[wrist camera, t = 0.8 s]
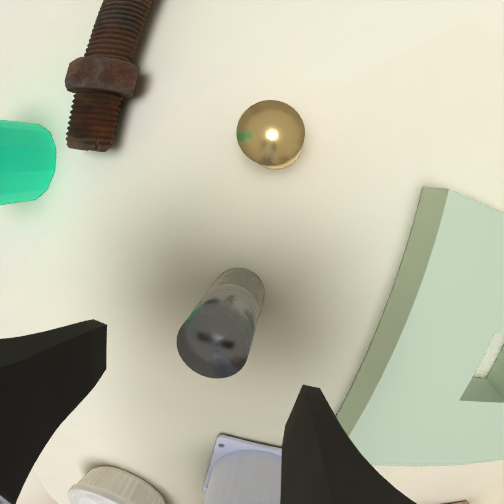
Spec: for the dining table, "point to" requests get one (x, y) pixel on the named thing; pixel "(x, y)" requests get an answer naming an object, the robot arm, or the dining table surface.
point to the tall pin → (222, 325)
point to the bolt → (105, 74)
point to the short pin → (271, 134)
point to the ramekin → (113, 488)
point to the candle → (25, 161)
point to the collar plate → (436, 345)
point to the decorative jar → (461, 502)
